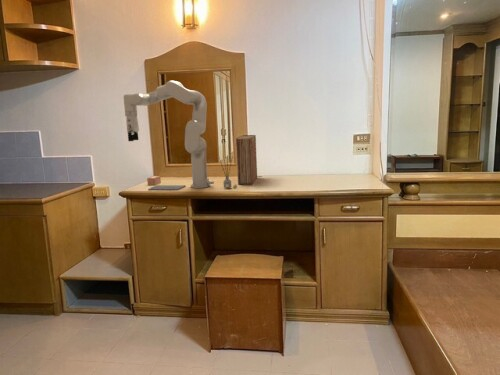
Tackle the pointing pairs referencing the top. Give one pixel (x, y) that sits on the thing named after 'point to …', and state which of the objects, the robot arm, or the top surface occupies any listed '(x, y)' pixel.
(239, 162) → the brown wooden block
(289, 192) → the top surface
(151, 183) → the card box
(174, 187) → the mat
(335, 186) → the top surface
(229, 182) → the reed diffuser
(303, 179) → the top surface
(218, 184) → the top surface
